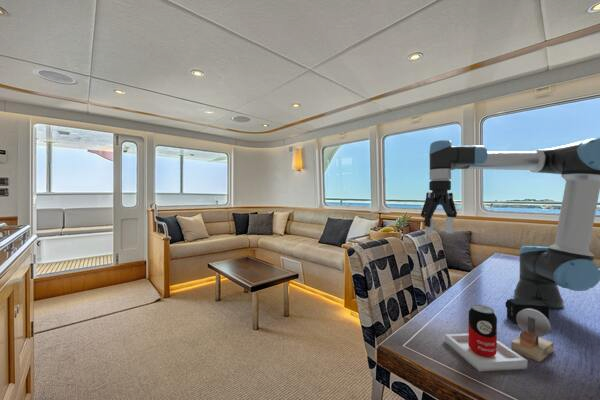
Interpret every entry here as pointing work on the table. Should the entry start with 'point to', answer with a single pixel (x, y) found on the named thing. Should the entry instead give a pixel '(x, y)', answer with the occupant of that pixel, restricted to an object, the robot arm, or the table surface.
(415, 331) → the table surface
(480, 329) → the beverage can
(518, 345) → the pulley stand
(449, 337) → the tray
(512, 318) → the digital camera
